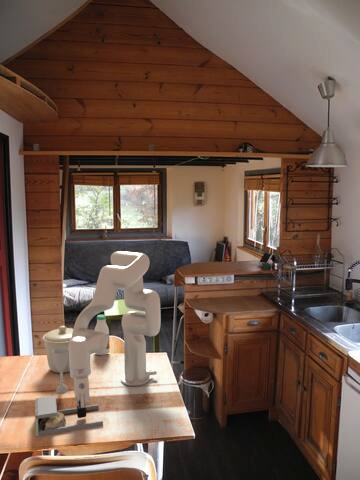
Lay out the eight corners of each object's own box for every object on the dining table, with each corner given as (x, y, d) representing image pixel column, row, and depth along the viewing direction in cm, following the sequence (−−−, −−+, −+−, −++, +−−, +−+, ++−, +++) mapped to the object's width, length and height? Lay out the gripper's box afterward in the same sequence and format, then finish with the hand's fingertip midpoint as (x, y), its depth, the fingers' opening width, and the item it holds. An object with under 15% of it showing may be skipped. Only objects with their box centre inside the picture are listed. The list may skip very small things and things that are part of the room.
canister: (42, 379, 196) (40, 334, 193) (45, 362, 214) (43, 321, 211) (83, 374, 200) (82, 330, 198) (83, 359, 218) (81, 318, 215)
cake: (60, 417, 166) (61, 403, 165) (70, 429, 158) (71, 415, 157) (34, 423, 160) (35, 409, 160) (43, 436, 152) (44, 422, 152)
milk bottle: (102, 356, 221) (101, 318, 218) (91, 353, 225) (90, 316, 222) (112, 351, 228) (111, 314, 225) (101, 348, 232) (100, 312, 229)
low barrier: (98, 407, 171) (98, 389, 170) (103, 425, 159) (102, 405, 158) (36, 417, 164) (35, 398, 163) (36, 436, 152) (35, 415, 151)
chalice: (65, 395, 181) (63, 353, 179) (50, 393, 183) (48, 352, 180) (73, 387, 189) (71, 347, 186) (58, 385, 190) (57, 346, 188)
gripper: (92, 377, 155) (94, 425, 157) (88, 360, 169) (89, 405, 171) (71, 380, 152) (73, 429, 155) (68, 363, 166) (70, 408, 169)
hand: (81, 416), depth 163 cm, fingers closed
